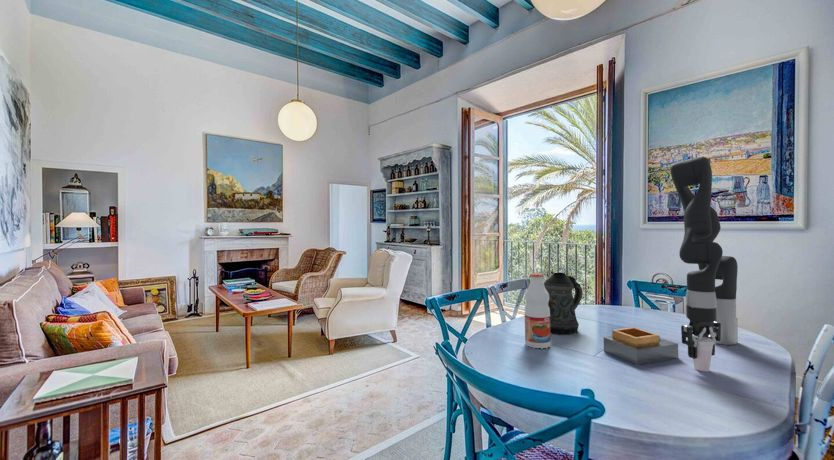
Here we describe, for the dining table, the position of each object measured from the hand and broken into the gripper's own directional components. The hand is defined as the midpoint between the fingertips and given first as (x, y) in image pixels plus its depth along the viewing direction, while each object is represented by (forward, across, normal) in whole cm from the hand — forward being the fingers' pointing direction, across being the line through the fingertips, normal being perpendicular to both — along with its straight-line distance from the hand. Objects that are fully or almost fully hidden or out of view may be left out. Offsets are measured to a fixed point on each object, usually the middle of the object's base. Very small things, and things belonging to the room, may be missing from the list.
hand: (701, 356), depth 111 cm
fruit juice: (+4, +35, -36) cm, 50 cm away
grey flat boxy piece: (+4, +5, -16) cm, 17 cm away
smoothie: (+4, 0, 0) cm, 4 cm away
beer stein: (+4, +13, -51) cm, 53 cm away
